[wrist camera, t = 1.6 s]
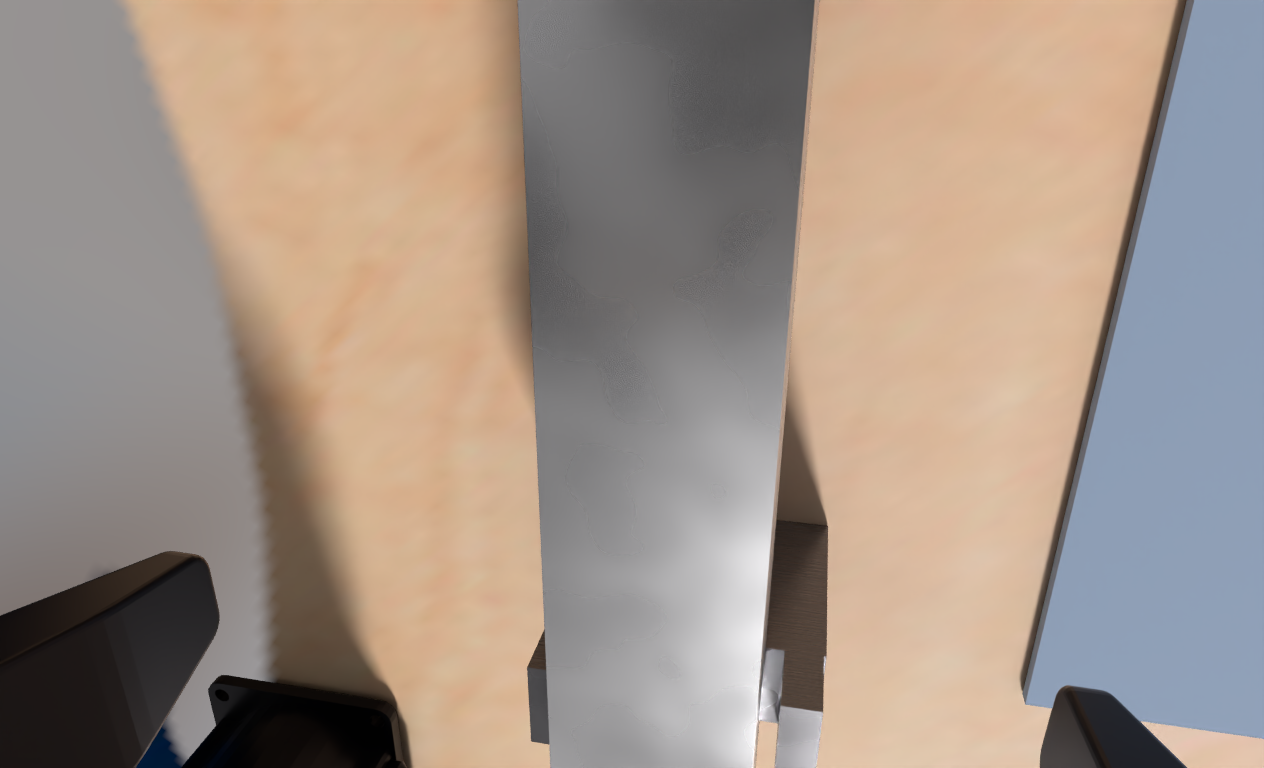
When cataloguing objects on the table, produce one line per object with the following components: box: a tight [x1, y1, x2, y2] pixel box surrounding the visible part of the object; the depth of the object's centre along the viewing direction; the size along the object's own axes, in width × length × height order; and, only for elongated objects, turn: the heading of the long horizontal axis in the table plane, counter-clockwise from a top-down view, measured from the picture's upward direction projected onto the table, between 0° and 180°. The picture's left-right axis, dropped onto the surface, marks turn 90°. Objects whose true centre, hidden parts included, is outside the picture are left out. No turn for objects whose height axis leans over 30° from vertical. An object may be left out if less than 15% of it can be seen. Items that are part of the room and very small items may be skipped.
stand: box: [527, 520, 828, 768], centre depth 21 cm, size 6×2×7 cm, turn 90°
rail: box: [518, 0, 820, 768], centre depth 15 cm, size 4×20×4 cm, turn 0°
